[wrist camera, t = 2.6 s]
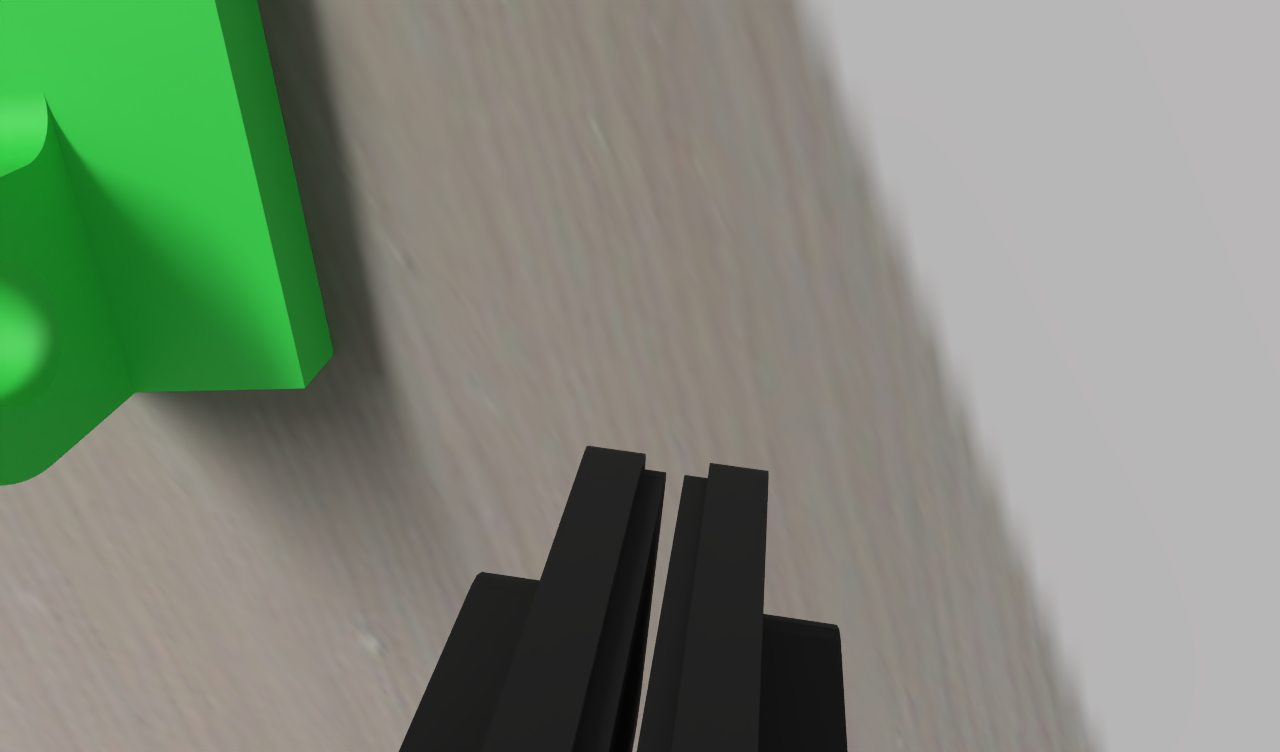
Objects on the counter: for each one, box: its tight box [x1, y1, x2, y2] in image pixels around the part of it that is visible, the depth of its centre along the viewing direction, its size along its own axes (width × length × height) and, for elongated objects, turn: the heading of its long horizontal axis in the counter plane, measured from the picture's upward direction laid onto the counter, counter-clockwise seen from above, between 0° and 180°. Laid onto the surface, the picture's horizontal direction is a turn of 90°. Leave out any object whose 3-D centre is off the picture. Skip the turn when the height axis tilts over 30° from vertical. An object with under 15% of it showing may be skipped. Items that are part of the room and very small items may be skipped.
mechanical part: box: [0, 0, 334, 485], centre depth 21 cm, size 12×6×8 cm, turn 4°
